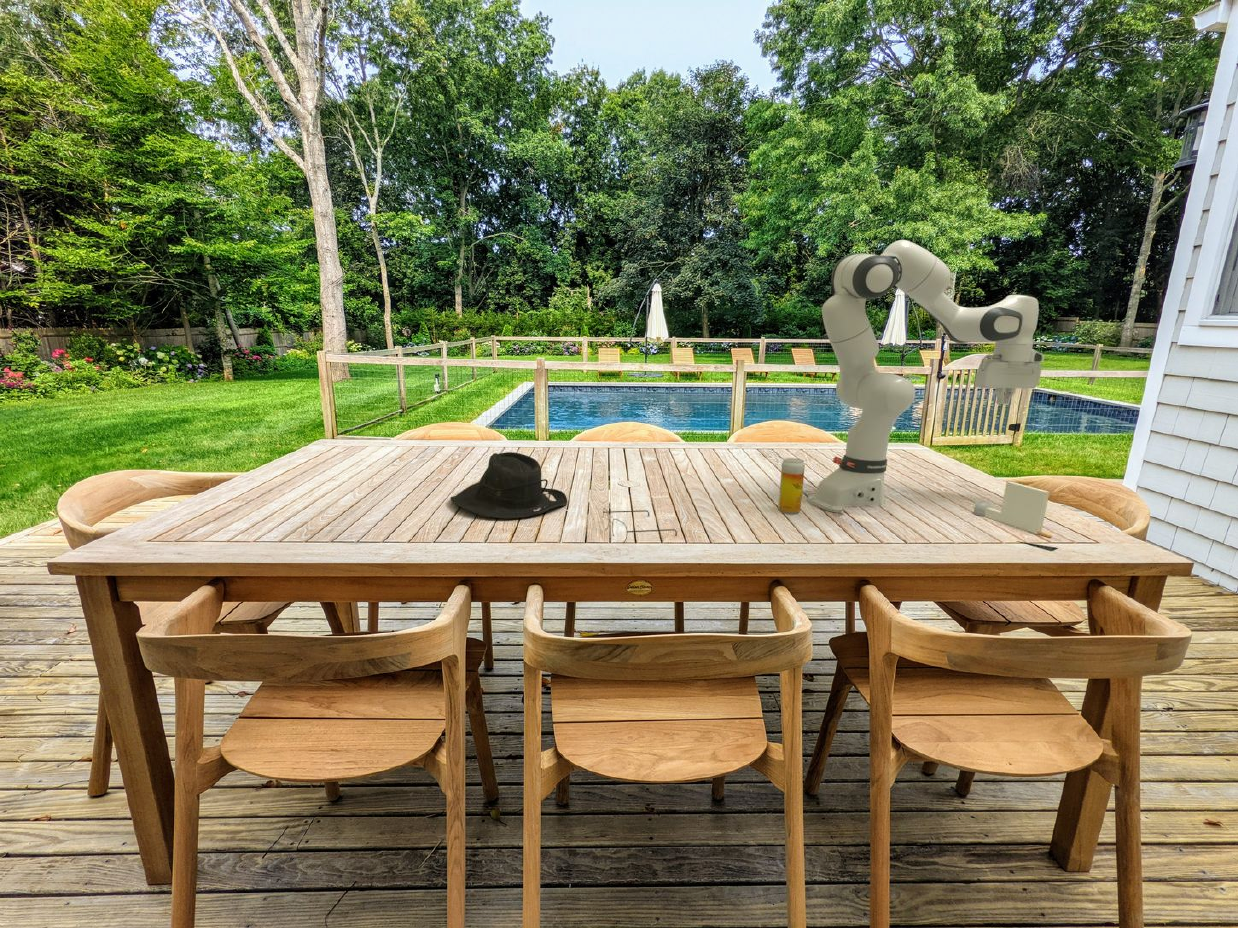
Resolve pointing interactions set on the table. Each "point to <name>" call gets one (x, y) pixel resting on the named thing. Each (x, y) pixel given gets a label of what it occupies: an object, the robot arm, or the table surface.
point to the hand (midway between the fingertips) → (1002, 404)
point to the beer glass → (791, 485)
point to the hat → (509, 489)
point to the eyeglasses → (634, 531)
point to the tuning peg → (1019, 508)
